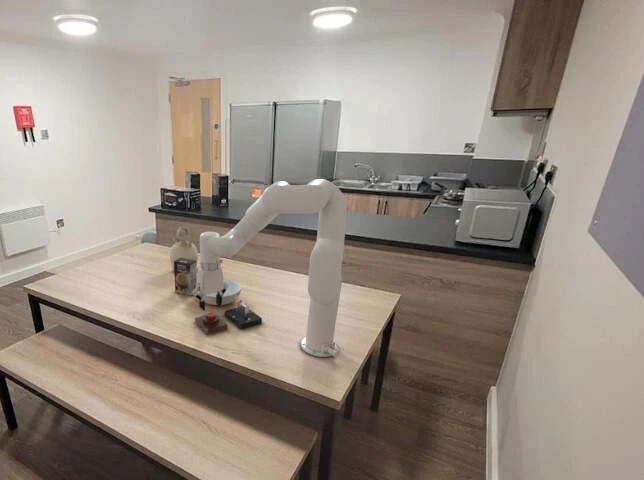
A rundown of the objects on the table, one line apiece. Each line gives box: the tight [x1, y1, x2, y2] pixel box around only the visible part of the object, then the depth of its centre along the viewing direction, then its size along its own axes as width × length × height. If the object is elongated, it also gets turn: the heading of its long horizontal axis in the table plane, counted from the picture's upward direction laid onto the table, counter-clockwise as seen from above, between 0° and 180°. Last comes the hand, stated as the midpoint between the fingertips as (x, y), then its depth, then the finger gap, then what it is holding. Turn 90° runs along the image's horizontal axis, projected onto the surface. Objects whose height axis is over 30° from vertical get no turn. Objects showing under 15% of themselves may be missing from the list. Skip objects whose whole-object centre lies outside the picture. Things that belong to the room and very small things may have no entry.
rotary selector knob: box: [236, 299, 250, 318], centre depth 155 cm, size 6×2×5 cm, turn 28°
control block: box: [194, 313, 228, 335], centre depth 152 cm, size 11×9×4 cm
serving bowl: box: [197, 278, 242, 306], centre depth 173 cm, size 21×21×7 cm
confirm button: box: [205, 311, 216, 320], centre depth 151 cm, size 4×4×2 cm
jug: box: [169, 226, 199, 271], centre depth 204 cm, size 15×16×25 cm
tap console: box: [224, 307, 263, 330], centre depth 157 cm, size 13×10×3 cm
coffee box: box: [173, 258, 198, 296], centre depth 180 cm, size 9×6×16 cm
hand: (210, 306), depth 149 cm, fingers open, 6 cm apart
